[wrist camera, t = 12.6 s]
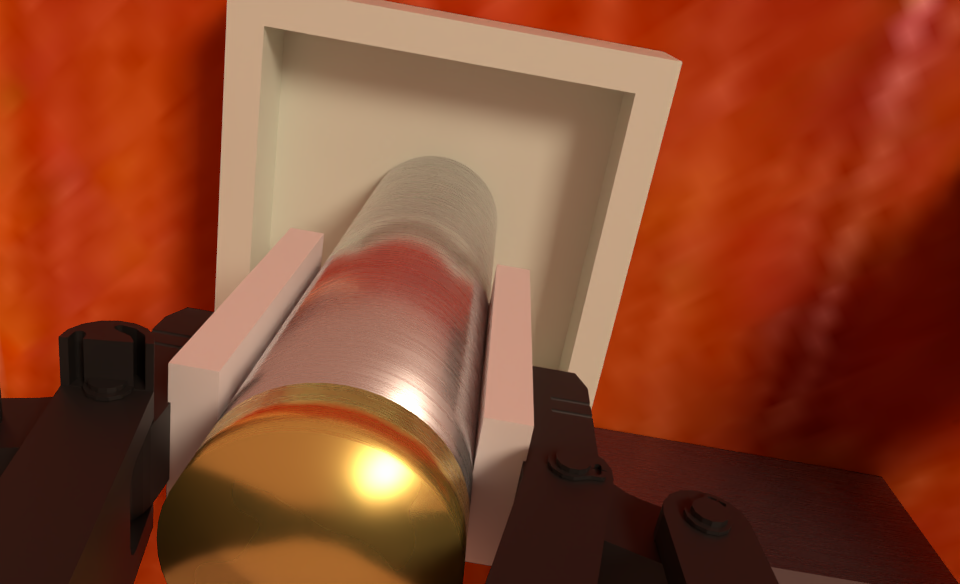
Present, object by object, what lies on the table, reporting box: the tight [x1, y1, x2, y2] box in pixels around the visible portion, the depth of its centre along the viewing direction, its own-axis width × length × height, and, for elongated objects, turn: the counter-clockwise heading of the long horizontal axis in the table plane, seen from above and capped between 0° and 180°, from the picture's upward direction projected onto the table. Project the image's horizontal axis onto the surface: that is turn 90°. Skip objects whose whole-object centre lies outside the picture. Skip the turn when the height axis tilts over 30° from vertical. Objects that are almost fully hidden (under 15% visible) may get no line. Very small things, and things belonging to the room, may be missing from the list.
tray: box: [215, 0, 682, 409], centre depth 24 cm, size 12×12×3 cm
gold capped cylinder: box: [157, 156, 497, 584], centre depth 17 cm, size 4×4×15 cm
